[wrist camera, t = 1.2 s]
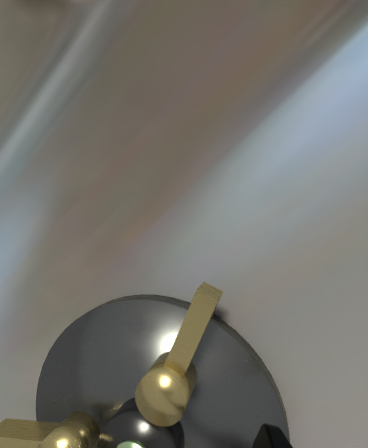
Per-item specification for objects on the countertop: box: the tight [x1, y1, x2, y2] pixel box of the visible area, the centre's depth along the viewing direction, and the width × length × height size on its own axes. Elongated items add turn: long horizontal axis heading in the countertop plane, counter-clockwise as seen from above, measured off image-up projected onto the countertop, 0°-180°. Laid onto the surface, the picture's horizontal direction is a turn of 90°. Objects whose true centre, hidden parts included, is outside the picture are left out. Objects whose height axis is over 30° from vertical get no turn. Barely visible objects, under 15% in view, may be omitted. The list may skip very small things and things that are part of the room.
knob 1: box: [0, 411, 100, 448], centre depth 23 cm, size 9×3×3 cm, turn 97°
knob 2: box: [135, 282, 223, 427], centre depth 20 cm, size 9×3×3 cm, turn 157°
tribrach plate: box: [36, 295, 290, 448], centre depth 22 cm, size 20×20×4 cm
